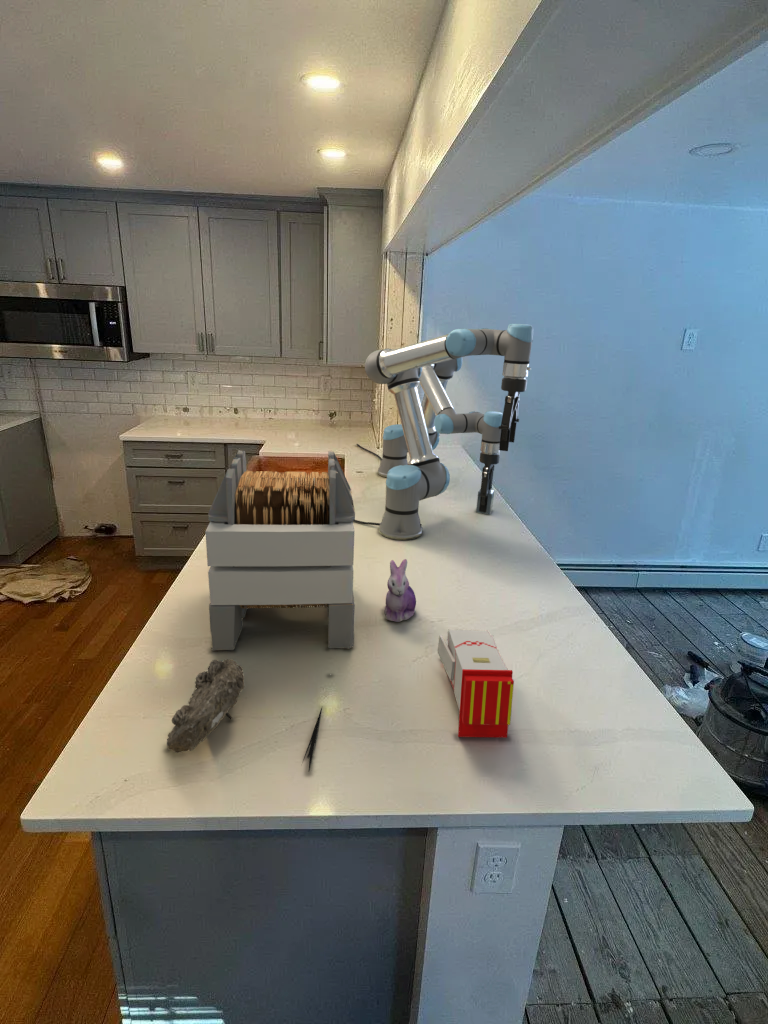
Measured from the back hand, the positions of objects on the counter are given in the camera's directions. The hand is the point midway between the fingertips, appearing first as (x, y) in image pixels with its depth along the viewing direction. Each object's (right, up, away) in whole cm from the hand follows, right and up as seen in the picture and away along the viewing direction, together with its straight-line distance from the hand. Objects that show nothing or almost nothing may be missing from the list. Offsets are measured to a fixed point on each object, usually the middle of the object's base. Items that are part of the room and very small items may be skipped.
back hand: (484, 509), depth 226 cm
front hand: (-1, +20, -47) cm, 51 cm away
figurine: (-36, -28, -79) cm, 91 cm away
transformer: (-65, -27, -81) cm, 107 cm away
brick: (0, -1, 0) cm, 1 cm away
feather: (-52, -41, -117) cm, 135 cm away
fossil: (-73, -40, -118) cm, 144 cm away
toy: (-22, -39, -107) cm, 116 cm away
